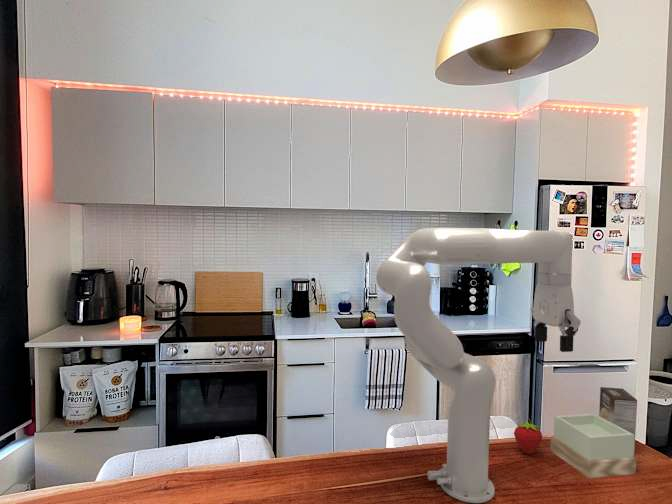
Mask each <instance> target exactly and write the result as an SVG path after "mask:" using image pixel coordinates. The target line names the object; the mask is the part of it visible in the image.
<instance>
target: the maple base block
mask: <svg viewBox="0 0 672 504" xmlns="http://www.w3.org/2000/svg"><path fill="white" fill-rule="evenodd" d="M549 442H550V445H549V446H550V447H549V448H550V449H549V450H550V451H551V452H552V453H553V454H554V455H556V456H558V457H559V458H561V460H563V461H565V462H566V463H567V464H568V465H570V466H571V467H572V468H574V469H575V470H577V471H578V472H580V473H581V474H582V475H584V476H585V477H587V478H588V479H595V478H605V477H617V476H626V475H635V474H636V473H637V458H636V457H635V456H633V457H631V458H620V459H608V460H597V461H589V460H588V459H586V458H585V457H583V456H582V455H580V454H579V453H577V452H576V451H574V450H573V449H571V448H570V447H568V446H567V445H565V444H564V443H562V442H561V441H559V440H558V439H556V438H555V437H554V435H550V441H549Z"/></svg>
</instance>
